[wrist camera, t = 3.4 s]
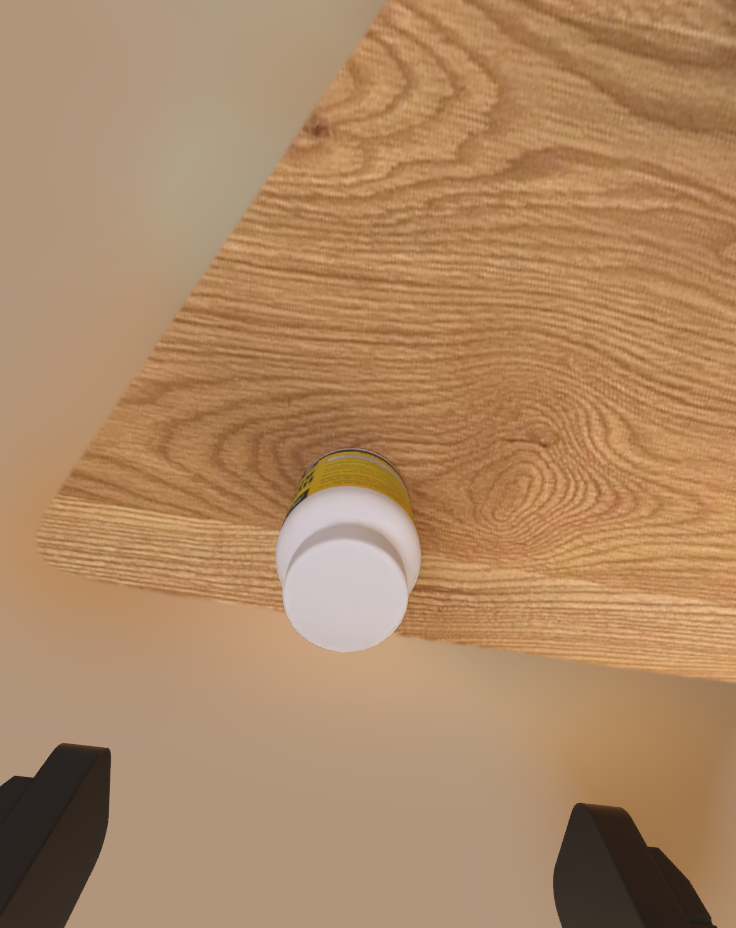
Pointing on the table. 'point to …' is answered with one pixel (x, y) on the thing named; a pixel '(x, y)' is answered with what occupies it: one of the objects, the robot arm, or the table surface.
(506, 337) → the table surface
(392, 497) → the supplement bottle
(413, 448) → the table surface
